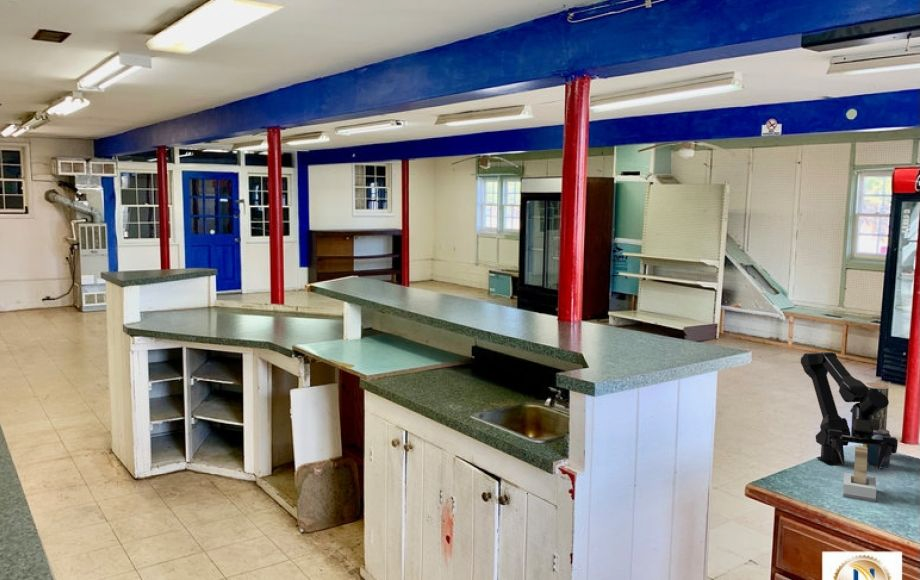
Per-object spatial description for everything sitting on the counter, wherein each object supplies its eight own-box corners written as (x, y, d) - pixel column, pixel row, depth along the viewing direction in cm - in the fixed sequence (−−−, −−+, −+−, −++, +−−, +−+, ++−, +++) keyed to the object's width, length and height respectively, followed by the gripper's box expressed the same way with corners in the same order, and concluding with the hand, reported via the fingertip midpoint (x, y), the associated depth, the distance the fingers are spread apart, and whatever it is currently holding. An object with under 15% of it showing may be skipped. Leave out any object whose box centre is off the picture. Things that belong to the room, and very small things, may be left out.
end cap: (843, 484, 220) (844, 472, 220) (874, 489, 216) (875, 477, 215) (843, 496, 211) (843, 483, 211) (875, 501, 207) (876, 489, 207)
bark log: (862, 449, 250) (866, 381, 247) (884, 452, 247) (888, 383, 244) (862, 455, 245) (865, 386, 242) (884, 458, 241) (888, 388, 238)
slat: (853, 486, 216) (855, 446, 215) (865, 488, 215) (867, 447, 213) (853, 491, 212) (855, 450, 211) (865, 493, 211) (867, 452, 209)
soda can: (883, 470, 231) (885, 435, 230) (861, 464, 237) (863, 430, 235) (893, 465, 235) (895, 430, 234) (871, 459, 241) (873, 425, 239)
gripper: (829, 404, 218) (826, 449, 210) (899, 412, 209) (899, 459, 201) (828, 421, 226) (825, 465, 218) (896, 429, 217) (896, 476, 209)
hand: (860, 466), depth 211 cm, fingers open, 9 cm apart
